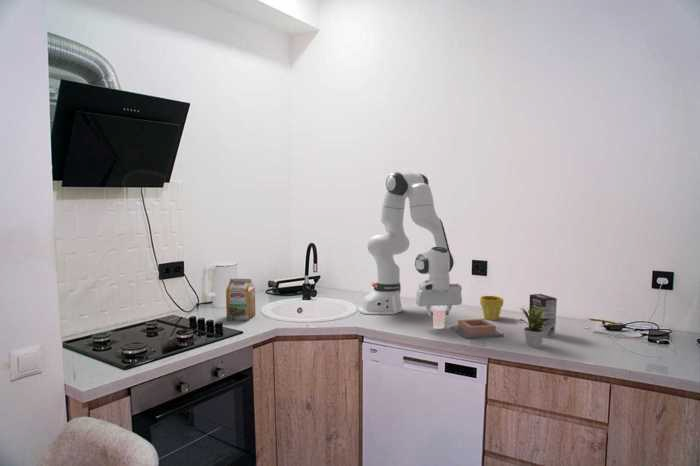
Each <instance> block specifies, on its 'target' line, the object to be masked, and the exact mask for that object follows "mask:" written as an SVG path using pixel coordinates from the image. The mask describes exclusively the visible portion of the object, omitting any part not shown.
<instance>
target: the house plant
mask: <svg viewBox="0 0 700 466" xmlns="http://www.w3.org/2000/svg"><path fill="white" fill-rule="evenodd" d="M535 306H536V304H535ZM535 306H534V309H533V308H532V307H531V308H532V313H531V312H530V311H529V308H528V307H526V306H525V308H526V309H527V310H528V311H527V310H526V309H525V308H524V306H521V307H520V308H519V310H520V311H521V312H522V313H523V314H524V315H525V317H526V318H527V321H525V320H524V319H523V318H522V319H521V318H519V319H518V320H517V321H518V322H523V323H524V324H527V325H528V326H526V327H524V329H523V330H524V335H525V336H524V337H525V344H527V345H528V347H530V346H531V348H541V345H542V343H543V342H542V341H543V338H544V337H543V333H544V330H543V329H541V328H540V327H541V326H542V325H544V326H547V325H546V324H549V323H546V324H544V322H545V321H547V320H552V319H548V318H540V316H541V314H542V313H543V311H544V309H545V308H546V307H544V308H541V309H540V310H538V312H539V313H538V312H537V313H538V314H537V313H536V315H537V316H536V315H535ZM515 308H516V309H518V307H516V306H515ZM549 312H551V311H549ZM547 313H548V312H547ZM529 314H530V316H529ZM545 314H546V313H545ZM545 314H544V315H545ZM544 315H542V316H544ZM535 317H536V318H535ZM539 318H540V319H539ZM541 319H542V320H541ZM538 320H540V321H539V322H538ZM542 323H543V324H542ZM529 325H530V327H529ZM549 325H550V326H551V324H549ZM527 345H526V346H527Z"/></svg>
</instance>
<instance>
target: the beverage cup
mask: <svg viewBox="0 0 700 466" xmlns="http://www.w3.org/2000/svg"><path fill="white" fill-rule="evenodd" d="M431 309H432V312H433V316H432V323H433V325H432V327H433V328H434V329H436V330H437V329H438V330H439V329H444V328H445V319H446V315H445V310H447V306H445V305H442V306H431Z"/></svg>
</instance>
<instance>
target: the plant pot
mask: <svg viewBox="0 0 700 466" xmlns="http://www.w3.org/2000/svg"><path fill="white" fill-rule="evenodd" d="M479 300H480V302H479V304H480V305H481V308H482V314H483V319H484V320H490V321H496V320H499V318H500V314H501V310H502V308H503V307H504V298H502V297H500V296H497V295H482V296H480V297H479Z"/></svg>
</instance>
